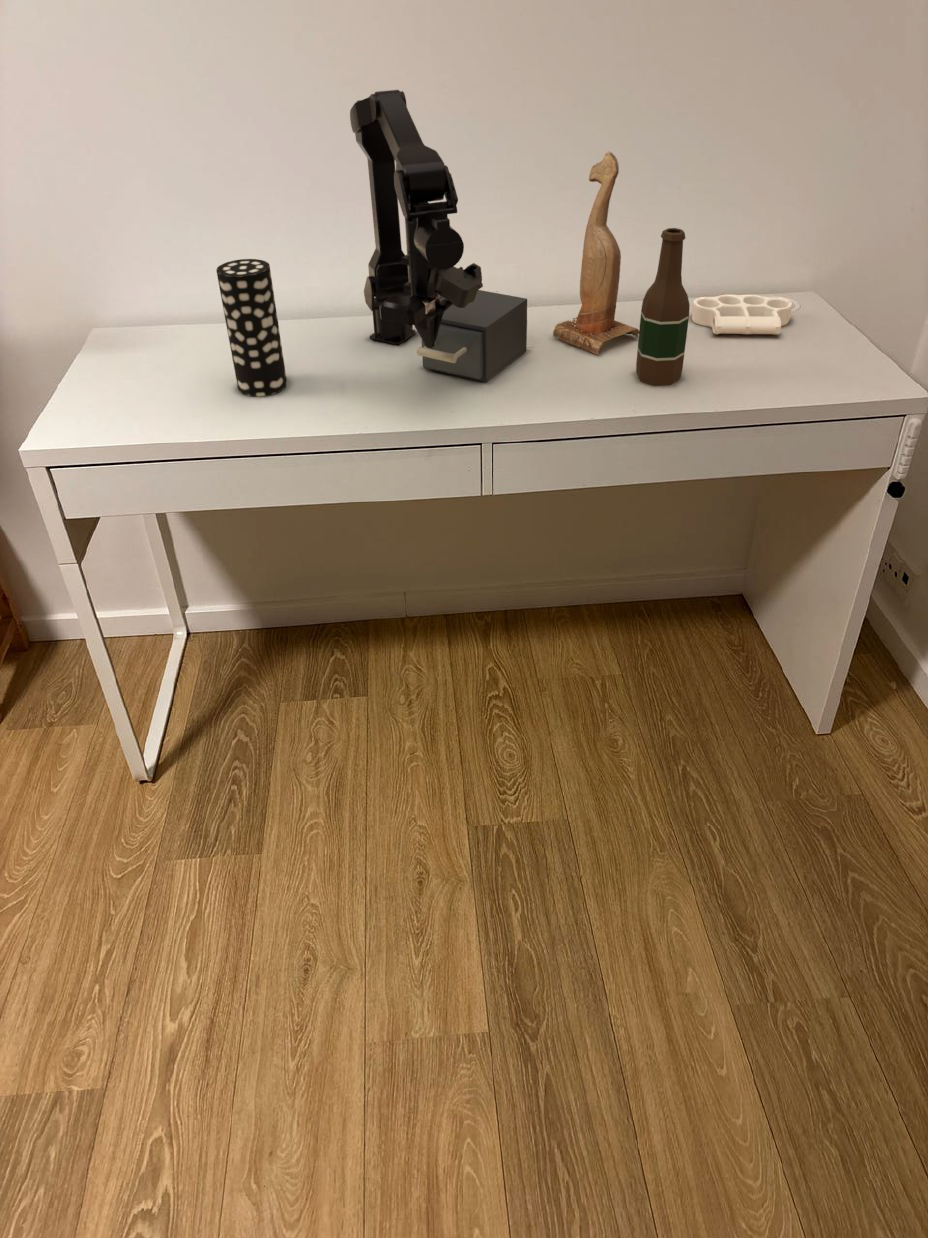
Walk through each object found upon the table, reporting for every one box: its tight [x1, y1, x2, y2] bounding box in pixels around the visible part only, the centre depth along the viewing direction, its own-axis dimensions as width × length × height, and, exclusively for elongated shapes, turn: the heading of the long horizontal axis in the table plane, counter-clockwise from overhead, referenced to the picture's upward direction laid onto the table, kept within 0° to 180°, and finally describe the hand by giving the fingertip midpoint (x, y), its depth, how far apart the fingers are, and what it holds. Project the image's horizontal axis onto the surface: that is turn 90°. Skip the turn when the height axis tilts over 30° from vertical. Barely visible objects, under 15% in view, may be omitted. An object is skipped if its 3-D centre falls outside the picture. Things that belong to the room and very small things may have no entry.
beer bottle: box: [635, 227, 691, 387], centre depth 156 cm, size 8×8×24 cm
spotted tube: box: [215, 258, 288, 397], centre depth 159 cm, size 8×8×20 cm
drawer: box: [416, 323, 483, 379], centre depth 165 cm, size 18×11×8 cm, turn 150°
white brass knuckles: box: [691, 293, 793, 336], centre depth 180 cm, size 3×18×15 cm
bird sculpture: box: [552, 150, 639, 355], centre depth 167 cm, size 11×12×32 cm
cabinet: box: [423, 289, 528, 383], centre depth 168 cm, size 15×13×10 cm
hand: (430, 347), depth 157 cm, fingers closed
